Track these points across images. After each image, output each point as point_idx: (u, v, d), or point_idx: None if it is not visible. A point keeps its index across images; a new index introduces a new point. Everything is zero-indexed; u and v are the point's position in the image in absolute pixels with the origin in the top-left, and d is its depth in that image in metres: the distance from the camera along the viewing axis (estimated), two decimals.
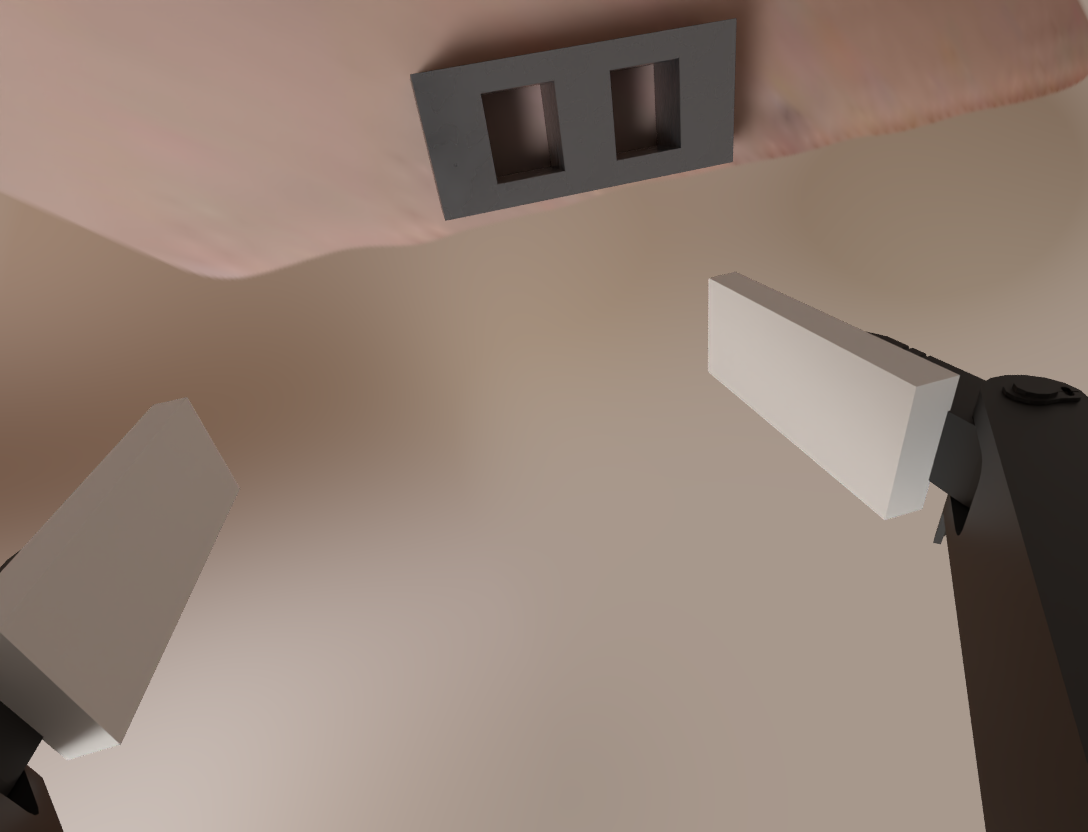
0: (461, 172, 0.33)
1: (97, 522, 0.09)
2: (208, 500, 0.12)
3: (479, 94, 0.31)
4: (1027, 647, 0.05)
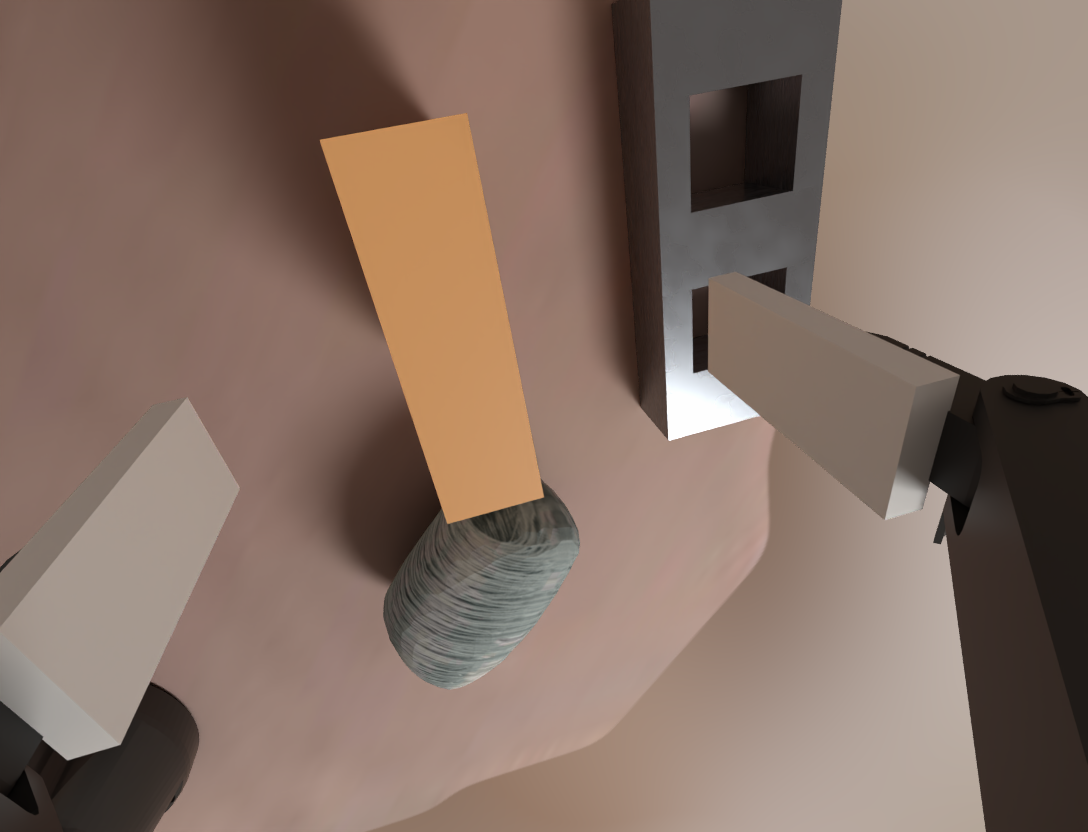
0: None
1: (97, 522, 0.09)
2: (208, 500, 0.12)
3: (693, 374, 0.27)
4: (1028, 647, 0.05)
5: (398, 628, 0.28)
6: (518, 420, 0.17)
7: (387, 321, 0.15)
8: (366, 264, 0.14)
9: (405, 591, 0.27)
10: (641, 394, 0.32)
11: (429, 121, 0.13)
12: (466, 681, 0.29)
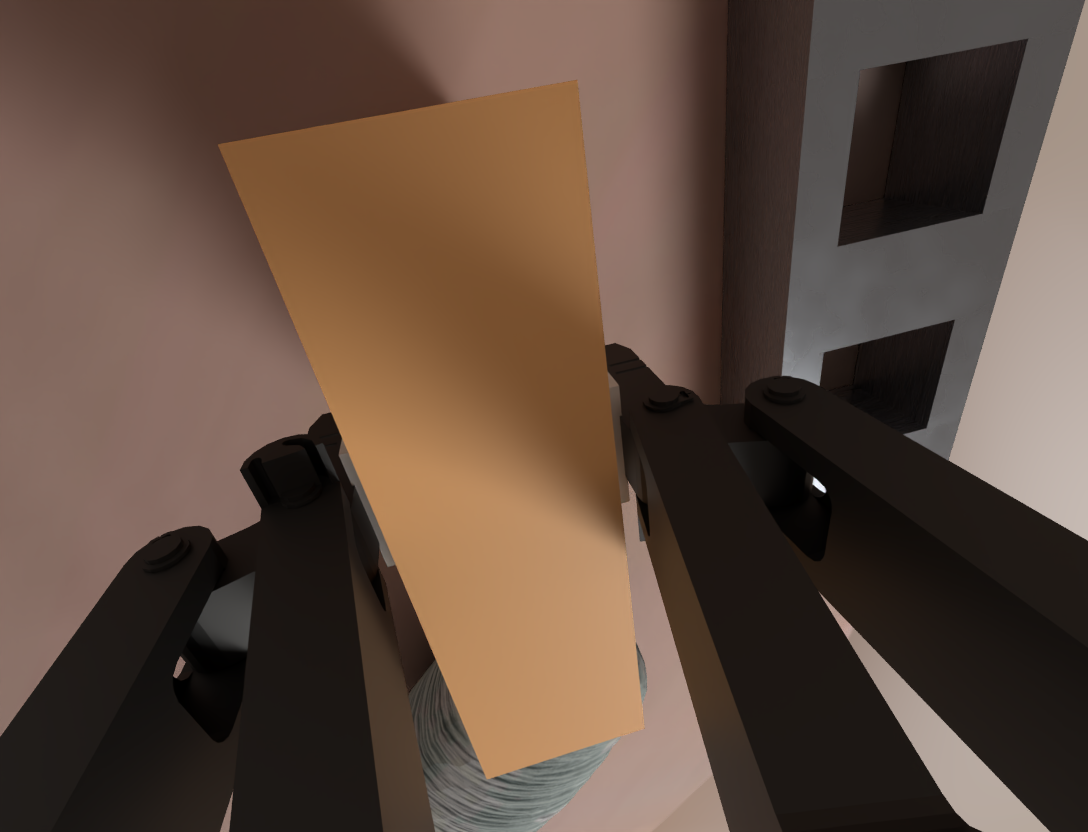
0: None
1: None
2: None
3: None
4: (703, 645, 0.06)
5: None
6: (618, 634, 0.10)
7: (387, 507, 0.07)
8: (342, 409, 0.06)
9: None
10: None
11: (487, 99, 0.05)
12: None
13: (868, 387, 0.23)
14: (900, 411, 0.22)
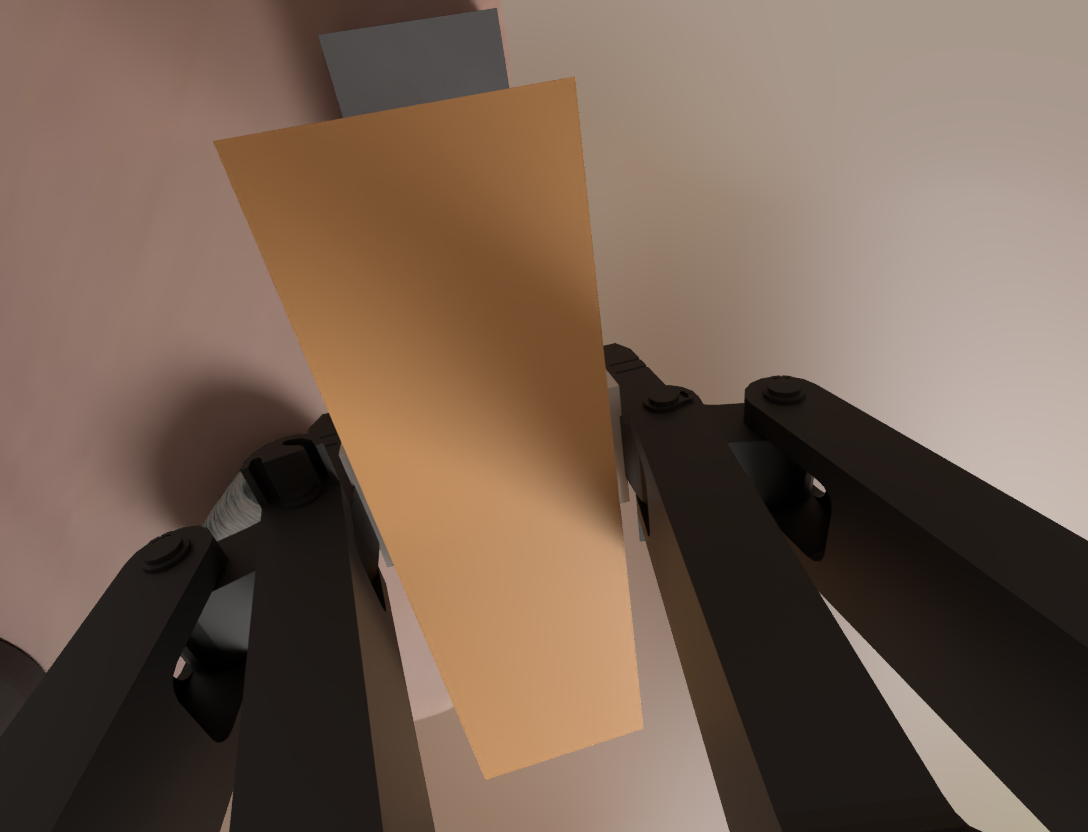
0: None
1: None
2: None
3: None
4: (702, 645, 0.06)
5: None
6: (617, 634, 0.10)
7: (384, 506, 0.07)
8: (339, 408, 0.06)
9: None
10: None
11: (485, 96, 0.05)
12: None
13: None
14: None
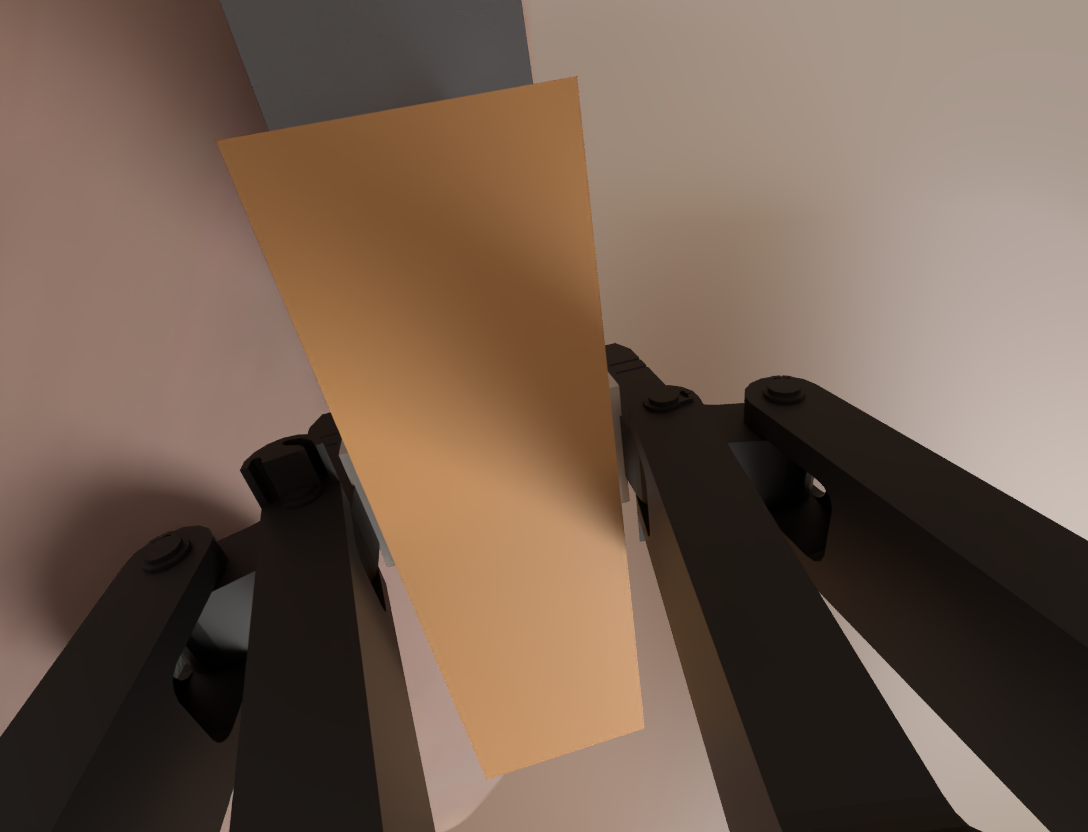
0: None
1: None
2: None
3: None
4: (703, 644, 0.06)
5: None
6: (618, 634, 0.10)
7: (386, 506, 0.07)
8: (341, 407, 0.06)
9: None
10: None
11: (487, 96, 0.05)
12: None
13: None
14: None
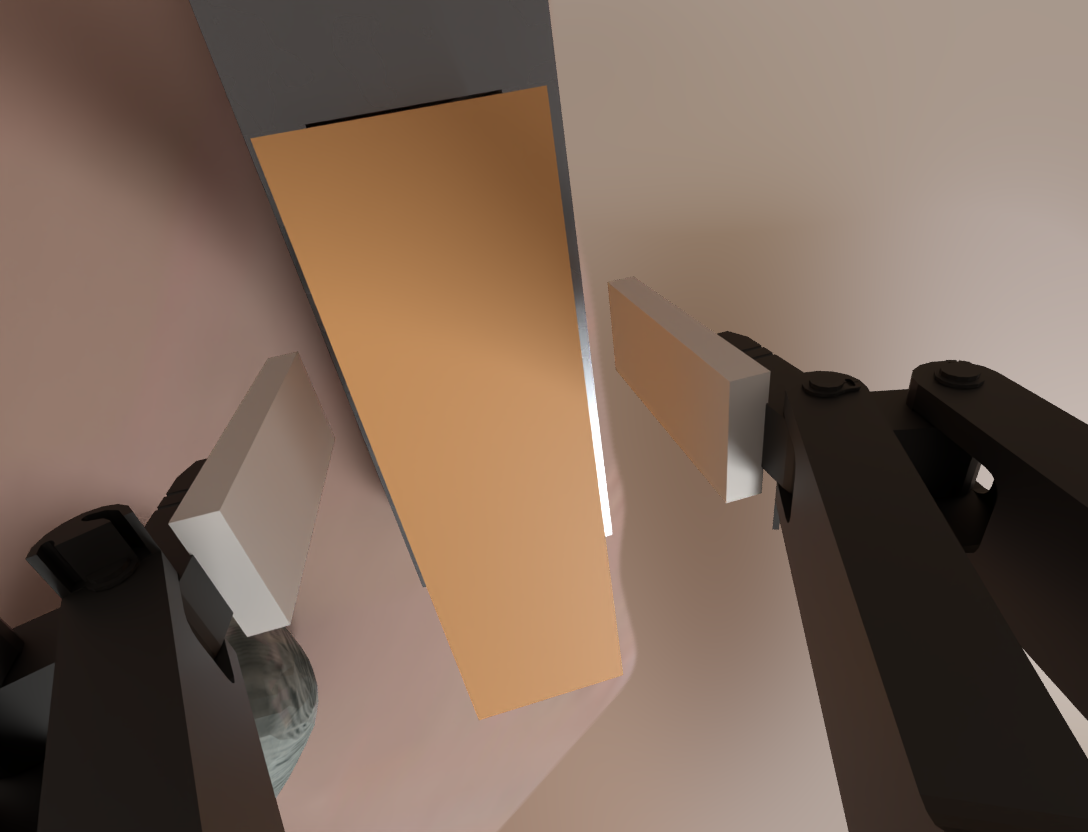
0: None
1: (259, 442, 0.10)
2: (318, 442, 0.13)
3: None
4: (848, 630, 0.06)
5: None
6: (595, 582, 0.11)
7: (388, 456, 0.08)
8: (350, 366, 0.08)
9: None
10: None
11: (472, 101, 0.06)
12: None
13: None
14: None
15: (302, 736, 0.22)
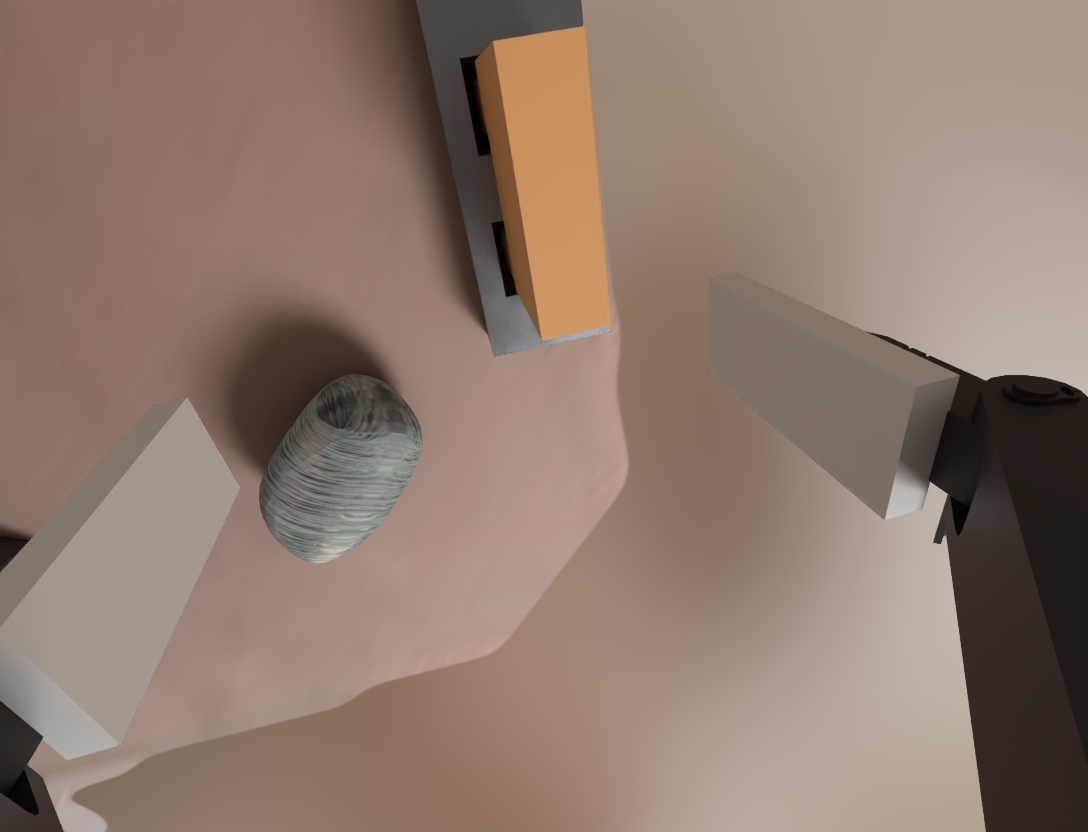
0: None
1: (97, 522, 0.09)
2: (208, 500, 0.12)
3: (506, 298, 0.33)
4: (1028, 647, 0.05)
5: (263, 503, 0.34)
6: (598, 258, 0.24)
7: (519, 173, 0.22)
8: (510, 130, 0.21)
9: (267, 471, 0.34)
10: (485, 322, 0.37)
11: (560, 31, 0.20)
12: (323, 553, 0.35)
13: None
14: None
15: (418, 449, 0.35)
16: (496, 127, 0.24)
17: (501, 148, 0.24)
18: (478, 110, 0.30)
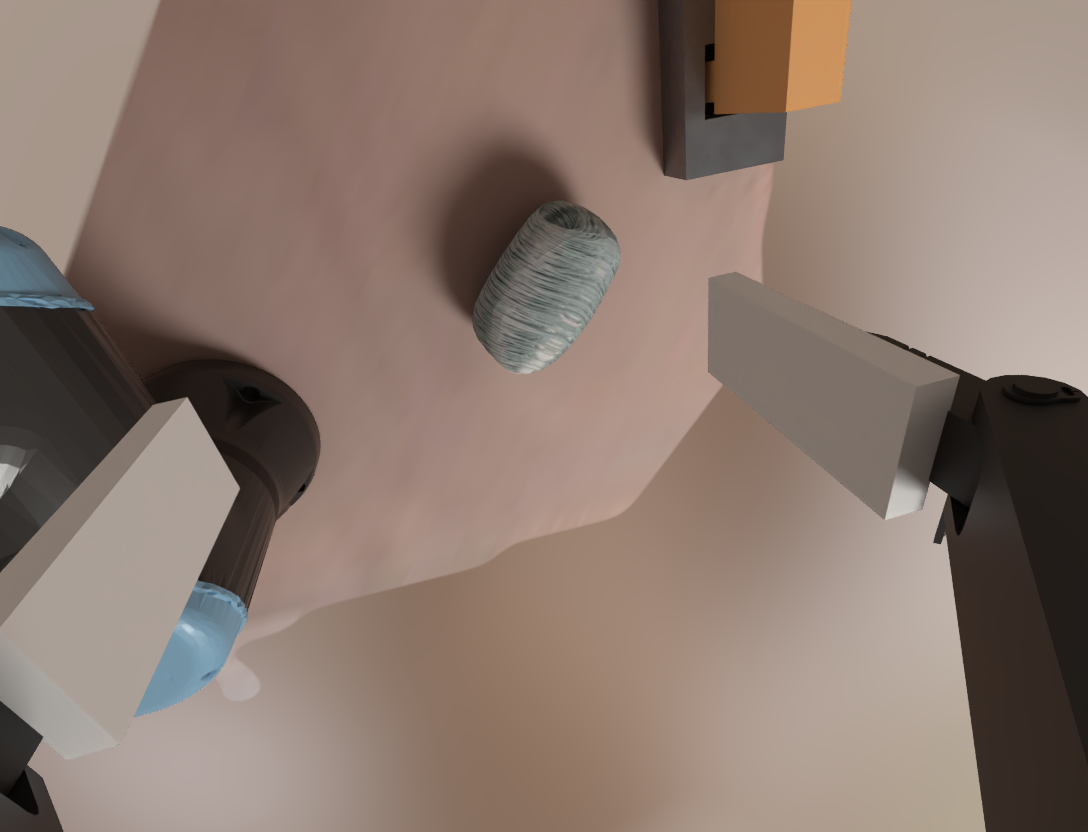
0: (753, 142, 0.39)
1: (97, 522, 0.09)
2: (208, 500, 0.12)
3: (705, 121, 0.38)
4: (1026, 647, 0.05)
5: (489, 308, 0.39)
6: (843, 33, 0.29)
7: None
8: None
9: (496, 276, 0.38)
10: (664, 162, 0.42)
11: None
12: (536, 358, 0.40)
13: None
14: None
15: (618, 264, 0.40)
16: None
17: None
18: None
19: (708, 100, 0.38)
